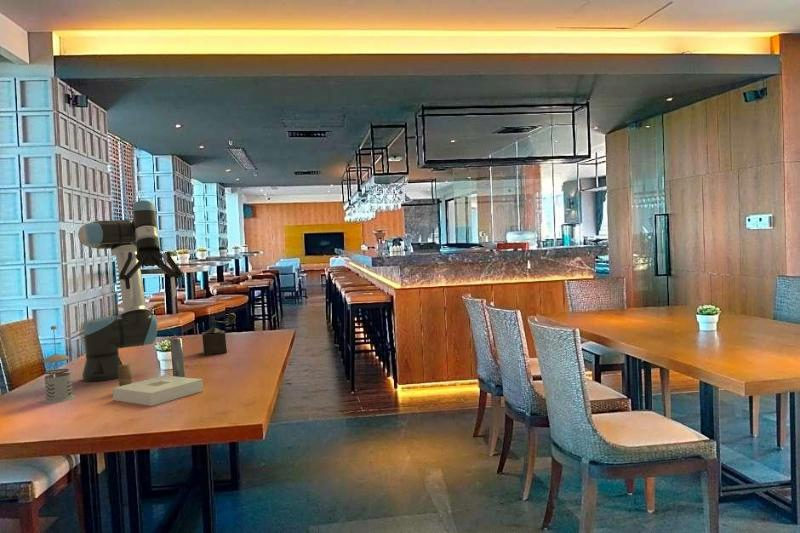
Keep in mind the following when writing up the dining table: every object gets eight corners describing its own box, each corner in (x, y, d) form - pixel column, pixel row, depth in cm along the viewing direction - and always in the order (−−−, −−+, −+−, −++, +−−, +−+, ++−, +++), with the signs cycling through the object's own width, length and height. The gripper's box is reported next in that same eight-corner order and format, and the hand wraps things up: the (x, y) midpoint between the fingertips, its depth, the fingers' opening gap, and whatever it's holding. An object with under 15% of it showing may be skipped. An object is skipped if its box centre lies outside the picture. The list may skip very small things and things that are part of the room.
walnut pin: (117, 392, 223) (115, 366, 222) (127, 389, 226) (125, 364, 226) (124, 393, 221) (122, 367, 220) (134, 390, 224) (132, 364, 224)
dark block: (203, 355, 288) (200, 316, 288) (202, 352, 299) (199, 313, 298) (238, 352, 293) (236, 312, 293) (236, 348, 304) (234, 310, 303)
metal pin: (171, 383, 232) (167, 339, 231) (180, 381, 235) (177, 337, 235) (178, 384, 230) (174, 340, 229) (187, 381, 233) (184, 338, 232)
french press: (46, 404, 210) (40, 328, 209) (38, 399, 219) (32, 326, 218) (79, 398, 216) (73, 324, 215) (69, 393, 225) (64, 322, 224)
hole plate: (113, 400, 211) (112, 388, 211) (165, 386, 227) (164, 375, 227) (151, 405, 200) (150, 393, 200) (203, 390, 217) (202, 379, 216)
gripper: (109, 235, 215) (114, 293, 206) (186, 236, 227) (193, 290, 219) (107, 246, 220) (112, 303, 212) (182, 246, 233) (189, 299, 225)
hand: (153, 296), depth 215 cm, fingers open, 13 cm apart
